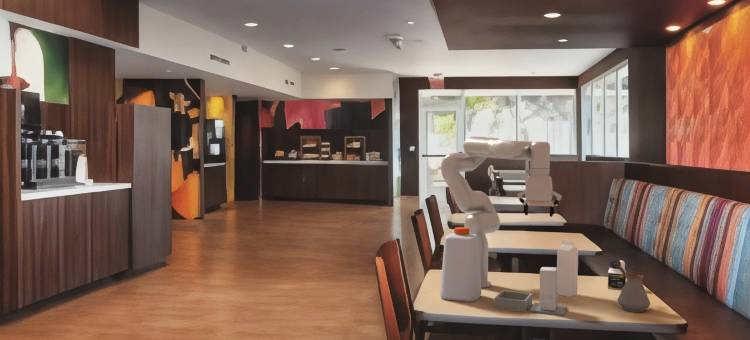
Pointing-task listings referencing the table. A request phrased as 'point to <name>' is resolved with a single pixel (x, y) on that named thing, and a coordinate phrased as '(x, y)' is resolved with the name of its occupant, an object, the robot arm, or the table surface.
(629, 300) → the coffee pot
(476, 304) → the table surface
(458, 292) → the plastic bottle
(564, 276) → the milk
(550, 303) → the skincare box
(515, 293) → the bin
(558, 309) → the pad
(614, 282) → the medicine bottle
